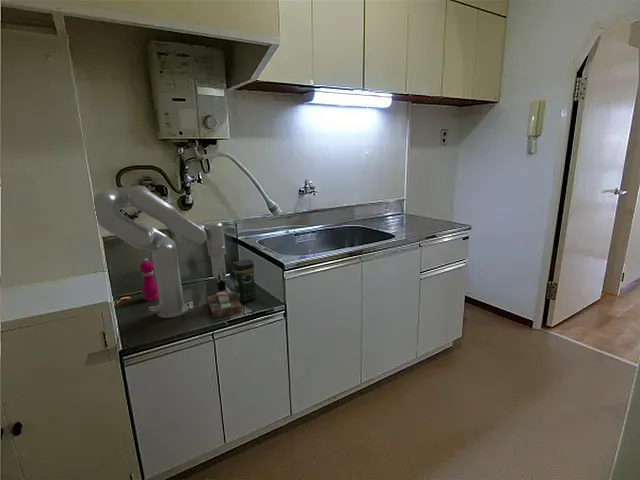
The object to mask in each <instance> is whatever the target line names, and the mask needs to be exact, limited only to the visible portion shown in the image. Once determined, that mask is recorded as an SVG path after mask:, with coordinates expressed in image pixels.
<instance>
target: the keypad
mask: <svg viewBox="0 0 640 480" xmlns="http://www.w3.org/2000/svg"><path fill="white" fill-rule="evenodd" d="M226 294H227V296H228V298H229V302H227V303H230V304H231V307H227V308H222V309H221V305H220V304H219V299H217V294H214V295H209V296H207V303H208V307H209V310H210V312H211V315H212V319H216V318H221V317H226V316H232V315H236V314H241V313H243V306H242V304H241V301H239V300H238V298H237V296H236V294H235V291H231V292H226ZM222 304H225V303H222Z"/></svg>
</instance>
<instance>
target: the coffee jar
mask: <svg viewBox="0 0 640 480" xmlns="http://www.w3.org/2000/svg"><path fill="white" fill-rule="evenodd" d="M254 272H255V265H254V261H253V259H251V258H246V259H242V260H237V261H233V262H232V273H234V280H235V286H234V287H235V291H234V293H235V295H236V296H237V298H238V300H239V302H240V303H241V302H242V303H243V302H248V301H251V300H252V301H253V300H255V299H257V297H258V291H257V288H256V287H257V286H256V282H255V276H254V274H255V273H254Z"/></svg>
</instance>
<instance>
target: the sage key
mask: <svg viewBox="0 0 640 480" xmlns="http://www.w3.org/2000/svg"><path fill="white" fill-rule="evenodd" d="M220 305H221V309H222V308H227V307H231V304H230V303H225V304H220Z"/></svg>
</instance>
